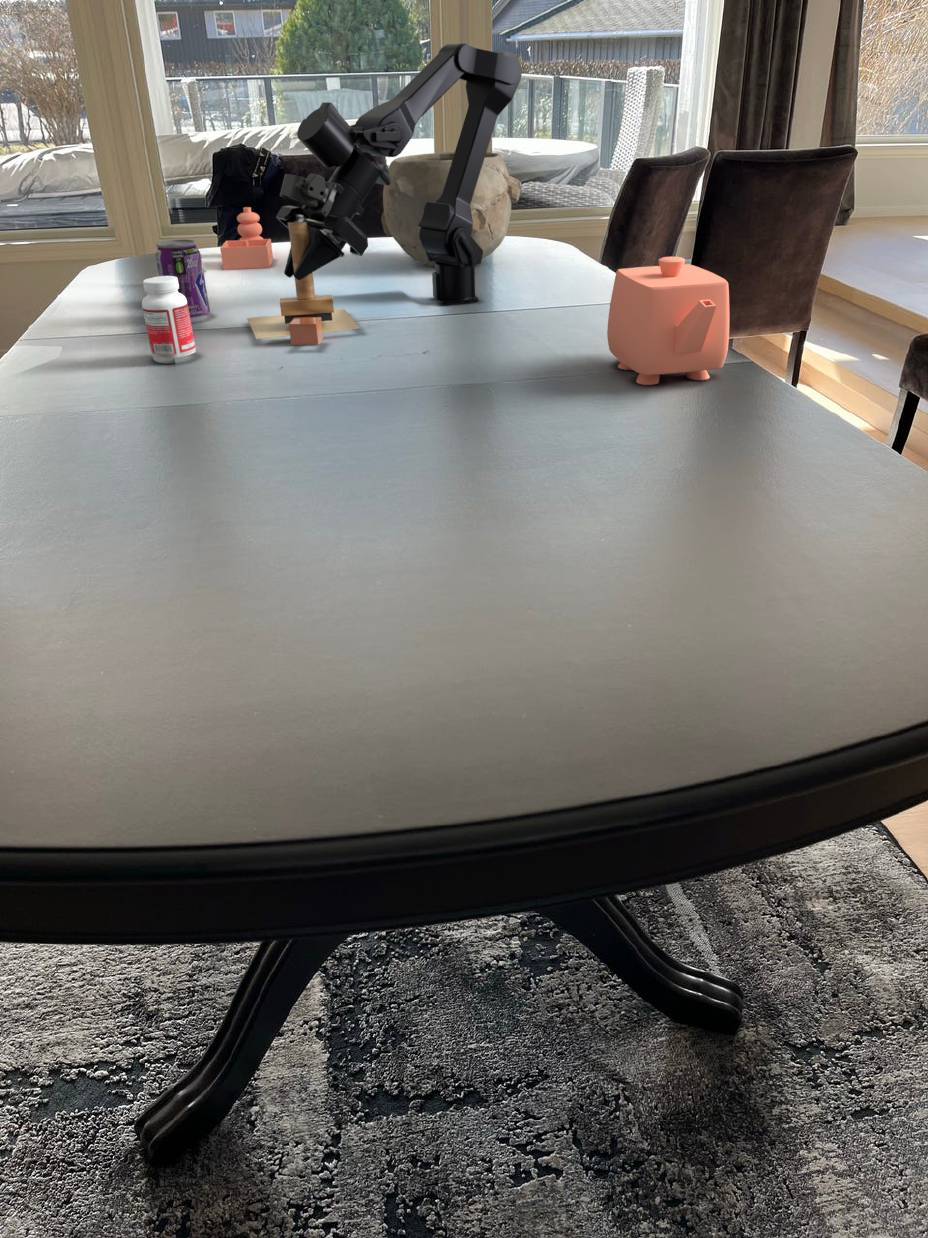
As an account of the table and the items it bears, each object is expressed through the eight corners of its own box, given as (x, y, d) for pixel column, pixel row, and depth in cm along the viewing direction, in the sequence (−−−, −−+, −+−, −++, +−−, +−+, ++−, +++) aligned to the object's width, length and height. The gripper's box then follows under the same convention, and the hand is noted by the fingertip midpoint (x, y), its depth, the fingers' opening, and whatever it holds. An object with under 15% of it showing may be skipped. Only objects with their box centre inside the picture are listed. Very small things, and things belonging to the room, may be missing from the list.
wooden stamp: (333, 315, 149) (324, 219, 143) (335, 320, 145) (325, 221, 138) (282, 319, 148) (270, 222, 142) (282, 324, 144) (270, 224, 137)
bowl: (352, 270, 190) (343, 159, 180) (436, 247, 210) (432, 147, 199) (463, 282, 176) (460, 164, 166) (541, 257, 196) (543, 150, 186)
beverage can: (199, 324, 154) (186, 246, 148) (159, 323, 155) (145, 246, 149) (217, 313, 160) (205, 238, 154) (179, 313, 161) (165, 238, 155)
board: (345, 314, 157) (344, 308, 156) (361, 334, 145) (361, 327, 145) (248, 324, 153) (247, 317, 153) (256, 345, 141) (255, 338, 141)
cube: (324, 344, 141) (321, 316, 139) (319, 351, 137) (316, 323, 135) (297, 344, 141) (294, 317, 139) (292, 351, 138) (288, 323, 136)
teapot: (747, 393, 115) (763, 271, 108) (649, 402, 113) (658, 279, 106) (677, 347, 134) (686, 240, 126) (591, 354, 132) (595, 247, 124)
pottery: (269, 267, 195) (263, 216, 190) (223, 269, 194) (215, 218, 189) (276, 252, 210) (270, 204, 205) (233, 254, 210) (227, 206, 205)
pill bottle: (192, 350, 140) (178, 272, 134) (201, 360, 135) (187, 280, 129) (149, 356, 137) (133, 277, 132) (157, 367, 133) (141, 285, 127)
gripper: (279, 147, 143) (224, 234, 143) (341, 154, 130) (280, 249, 130) (330, 198, 151) (277, 280, 151) (393, 209, 138) (336, 299, 138)
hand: (291, 276), depth 142 cm, fingers closed on wooden stamp, 3 cm apart
